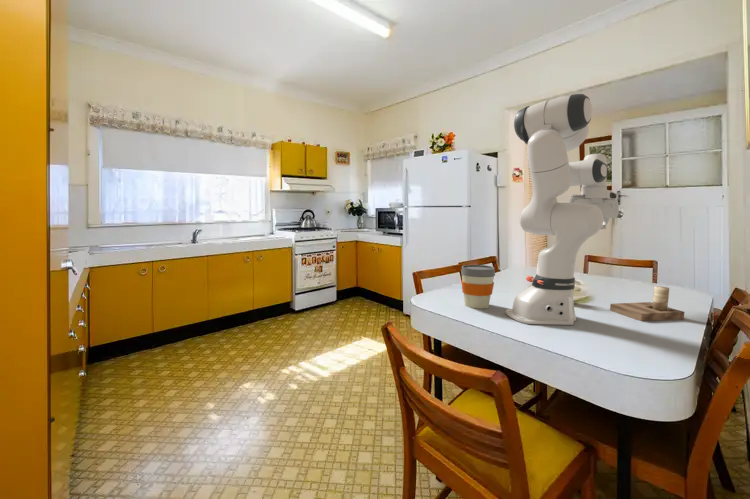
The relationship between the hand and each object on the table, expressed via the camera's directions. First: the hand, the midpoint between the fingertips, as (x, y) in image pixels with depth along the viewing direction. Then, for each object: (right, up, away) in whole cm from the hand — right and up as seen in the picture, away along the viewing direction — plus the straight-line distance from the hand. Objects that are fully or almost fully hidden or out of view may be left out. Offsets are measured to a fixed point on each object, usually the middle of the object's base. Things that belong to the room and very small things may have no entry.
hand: (592, 228), depth 138 cm
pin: (+10, -32, -20) cm, 39 cm away
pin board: (+7, -32, -19) cm, 37 cm away
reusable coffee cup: (-50, -30, -7) cm, 59 cm away
